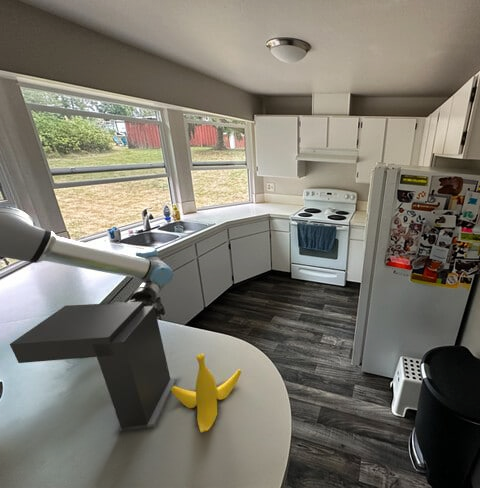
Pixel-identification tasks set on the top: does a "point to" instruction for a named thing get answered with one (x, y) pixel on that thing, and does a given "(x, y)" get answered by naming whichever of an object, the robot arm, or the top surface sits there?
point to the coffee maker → (109, 354)
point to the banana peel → (205, 394)
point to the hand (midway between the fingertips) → (121, 329)
